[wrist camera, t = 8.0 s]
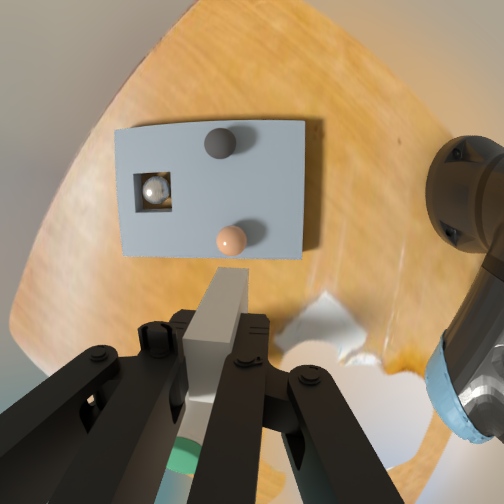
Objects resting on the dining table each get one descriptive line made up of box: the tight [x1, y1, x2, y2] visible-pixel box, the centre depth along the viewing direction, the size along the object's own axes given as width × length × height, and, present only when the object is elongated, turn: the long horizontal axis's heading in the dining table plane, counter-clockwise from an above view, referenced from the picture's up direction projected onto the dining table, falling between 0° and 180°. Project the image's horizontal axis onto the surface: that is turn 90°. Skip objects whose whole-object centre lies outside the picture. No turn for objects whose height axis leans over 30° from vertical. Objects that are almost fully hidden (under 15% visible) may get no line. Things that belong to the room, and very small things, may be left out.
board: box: [114, 120, 305, 260], centre depth 35 cm, size 21×15×2 cm
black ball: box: [204, 128, 236, 159], centre depth 30 cm, size 3×3×3 cm
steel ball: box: [143, 176, 170, 204], centre depth 35 cm, size 3×3×3 cm
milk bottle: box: [166, 392, 213, 474], centre depth 33 cm, size 8×8×20 cm
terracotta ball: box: [216, 225, 247, 256], centre depth 33 cm, size 3×3×3 cm
